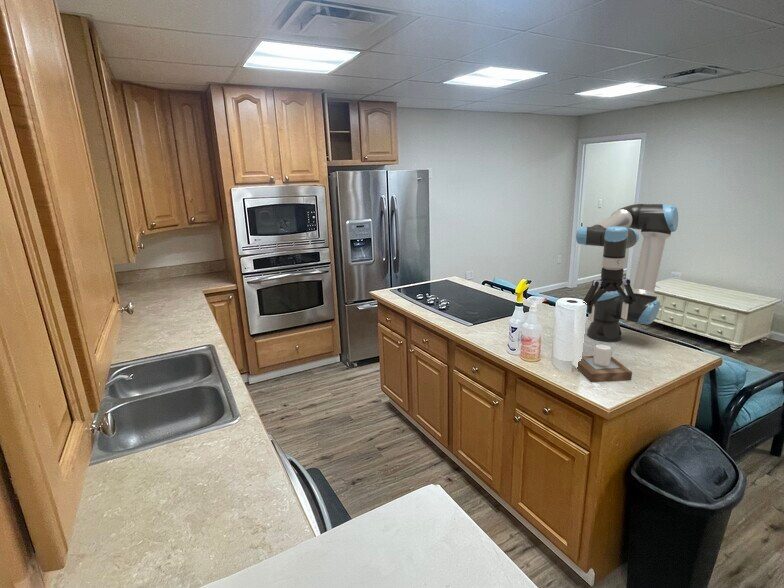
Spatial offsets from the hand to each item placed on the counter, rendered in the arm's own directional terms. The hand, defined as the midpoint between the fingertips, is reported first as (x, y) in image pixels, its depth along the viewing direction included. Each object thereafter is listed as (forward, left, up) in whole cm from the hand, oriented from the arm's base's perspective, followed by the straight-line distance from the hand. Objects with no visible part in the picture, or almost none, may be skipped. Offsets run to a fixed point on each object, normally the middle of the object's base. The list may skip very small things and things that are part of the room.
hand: (607, 319), depth 167 cm
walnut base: (+2, +3, -21) cm, 22 cm away
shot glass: (+2, +3, -18) cm, 18 cm away
